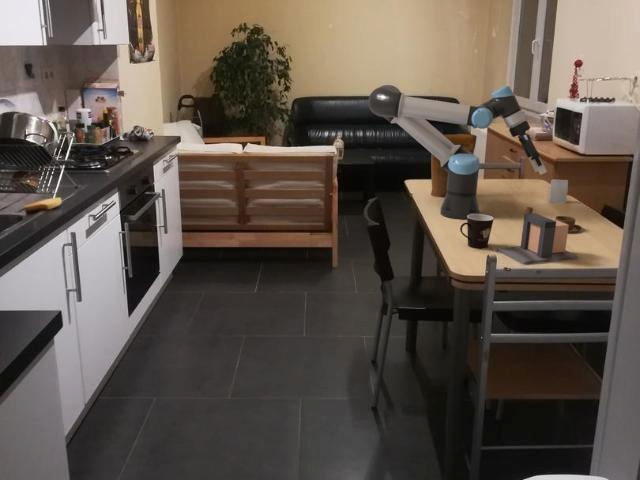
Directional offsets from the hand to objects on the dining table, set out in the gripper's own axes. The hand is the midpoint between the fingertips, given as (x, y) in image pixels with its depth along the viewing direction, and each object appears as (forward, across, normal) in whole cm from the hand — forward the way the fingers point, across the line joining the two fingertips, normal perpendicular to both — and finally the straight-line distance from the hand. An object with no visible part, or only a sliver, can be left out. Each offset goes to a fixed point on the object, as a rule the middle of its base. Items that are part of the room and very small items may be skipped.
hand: (541, 172), depth 250 cm
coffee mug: (+6, -48, +34) cm, 60 cm away
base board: (+17, -53, +17) cm, 58 cm away
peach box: (+17, -51, +14) cm, 56 cm away
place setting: (+20, -15, +5) cm, 26 cm away
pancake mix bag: (-5, +23, +37) cm, 44 cm away
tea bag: (+18, +25, -2) cm, 31 cm away
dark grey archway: (+16, -53, +17) cm, 58 cm away
